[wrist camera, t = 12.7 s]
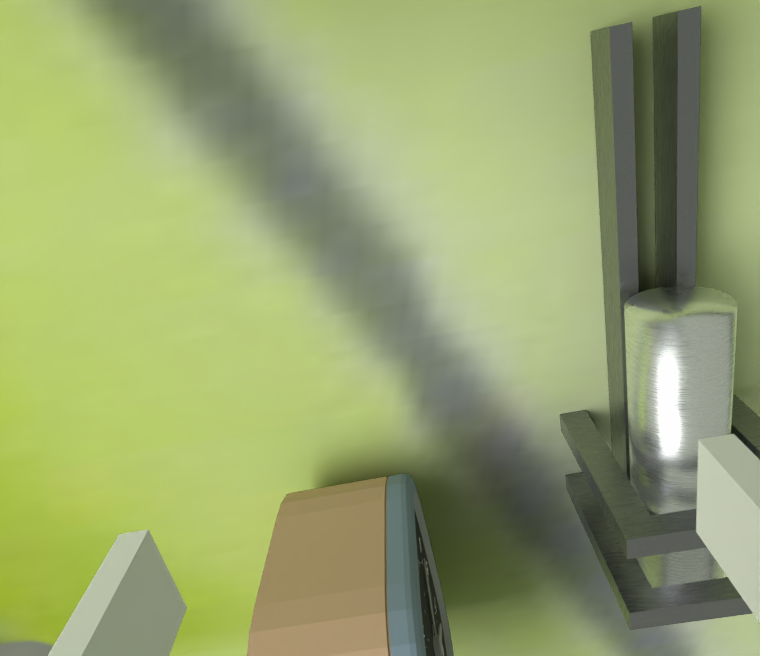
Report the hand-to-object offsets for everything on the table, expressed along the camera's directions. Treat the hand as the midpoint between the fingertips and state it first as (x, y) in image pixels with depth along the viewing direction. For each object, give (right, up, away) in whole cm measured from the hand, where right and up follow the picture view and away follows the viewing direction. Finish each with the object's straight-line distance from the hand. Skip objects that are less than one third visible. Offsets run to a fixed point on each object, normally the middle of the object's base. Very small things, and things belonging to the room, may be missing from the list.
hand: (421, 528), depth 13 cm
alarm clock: (-1, -14, +35) cm, 38 cm away
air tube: (+19, -2, +27) cm, 33 cm away
